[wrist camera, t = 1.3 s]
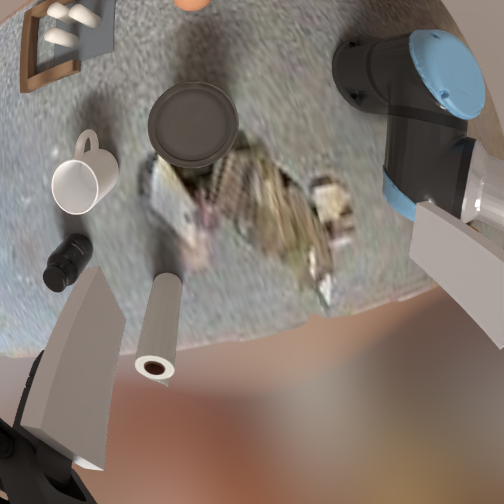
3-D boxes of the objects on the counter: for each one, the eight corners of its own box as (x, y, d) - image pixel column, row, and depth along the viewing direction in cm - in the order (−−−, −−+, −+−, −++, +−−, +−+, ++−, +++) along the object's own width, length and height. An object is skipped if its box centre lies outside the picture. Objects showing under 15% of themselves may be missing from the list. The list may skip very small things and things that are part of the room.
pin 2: (80, 34, 28) (57, 24, 20) (79, 45, 29) (56, 37, 22) (68, 38, 27) (45, 30, 20) (68, 49, 29) (44, 43, 21)
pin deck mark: (116, -13, 24) (116, -14, 24) (113, 50, 31) (113, 50, 31) (58, 9, 23) (57, 9, 23) (54, 71, 30) (54, 71, 30)
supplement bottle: (93, 235, 47) (68, 268, 36) (93, 264, 50) (72, 301, 39) (64, 229, 45) (35, 260, 35) (66, 258, 48) (41, 293, 38)
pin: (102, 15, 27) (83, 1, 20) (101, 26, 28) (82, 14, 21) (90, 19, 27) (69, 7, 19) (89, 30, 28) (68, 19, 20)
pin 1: (81, 12, 25) (60, -1, 18) (80, 22, 26) (58, 11, 19) (70, 16, 25) (47, 6, 18) (69, 27, 26) (46, 17, 19)
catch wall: (84, -10, 23) (77, -15, 20) (80, 71, 31) (72, 70, 29) (32, 14, 21) (24, 12, 19) (29, 92, 30) (20, 93, 28)
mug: (80, 127, 37) (50, 134, 28) (123, 126, 38) (100, 132, 29) (79, 192, 42) (53, 213, 33) (119, 194, 44) (99, 216, 35)
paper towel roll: (157, 267, 52) (137, 351, 34) (186, 277, 54) (179, 363, 35) (149, 294, 55) (130, 378, 36) (176, 303, 57) (167, 387, 38)
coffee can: (220, 157, 44) (223, 177, 31) (160, 143, 41) (138, 158, 29) (239, 99, 39) (251, 94, 27) (177, 83, 36) (162, 72, 24)
